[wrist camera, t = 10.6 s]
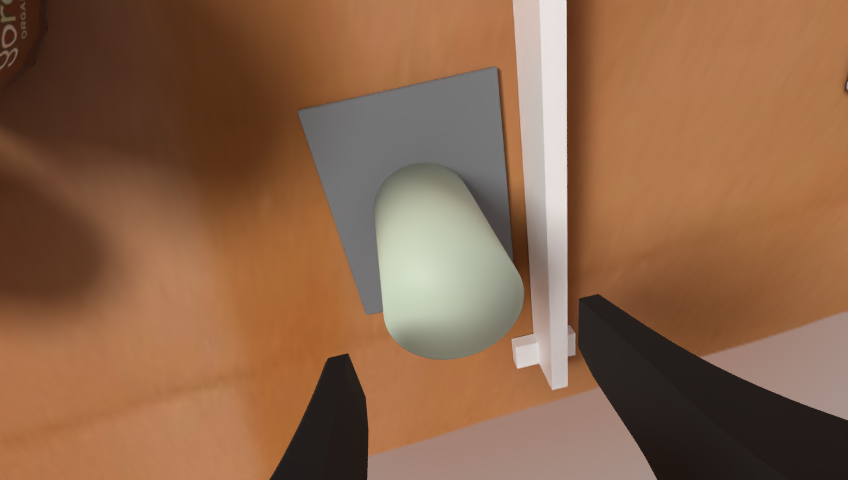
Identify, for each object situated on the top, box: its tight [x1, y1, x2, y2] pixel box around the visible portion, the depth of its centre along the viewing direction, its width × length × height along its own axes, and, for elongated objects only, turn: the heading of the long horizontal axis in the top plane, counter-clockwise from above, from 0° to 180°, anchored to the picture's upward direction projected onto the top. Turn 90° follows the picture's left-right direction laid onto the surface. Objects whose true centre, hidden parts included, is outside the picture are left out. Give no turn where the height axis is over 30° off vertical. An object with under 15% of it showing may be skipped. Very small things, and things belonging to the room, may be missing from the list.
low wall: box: [512, 0, 575, 390], centre depth 21 cm, size 4×26×3 cm, turn 11°
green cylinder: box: [374, 162, 524, 360], centre depth 18 cm, size 5×5×8 cm
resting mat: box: [298, 67, 514, 315], centre depth 22 cm, size 9×12×1 cm
